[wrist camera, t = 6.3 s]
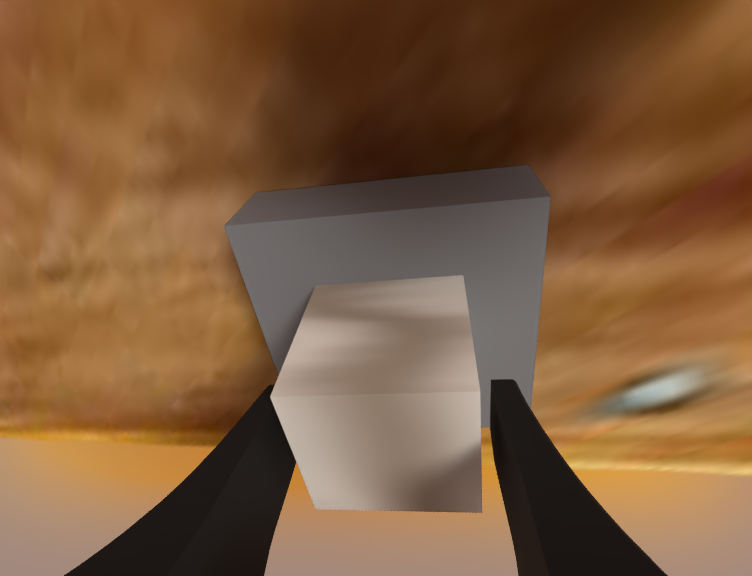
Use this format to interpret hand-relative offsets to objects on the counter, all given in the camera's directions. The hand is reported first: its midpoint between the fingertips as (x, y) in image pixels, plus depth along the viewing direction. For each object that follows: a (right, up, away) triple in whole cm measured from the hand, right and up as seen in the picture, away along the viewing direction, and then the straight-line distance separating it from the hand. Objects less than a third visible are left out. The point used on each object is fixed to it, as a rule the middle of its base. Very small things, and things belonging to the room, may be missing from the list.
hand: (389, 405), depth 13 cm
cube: (0, +2, +3) cm, 3 cm away
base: (+1, +3, +5) cm, 6 cm away
